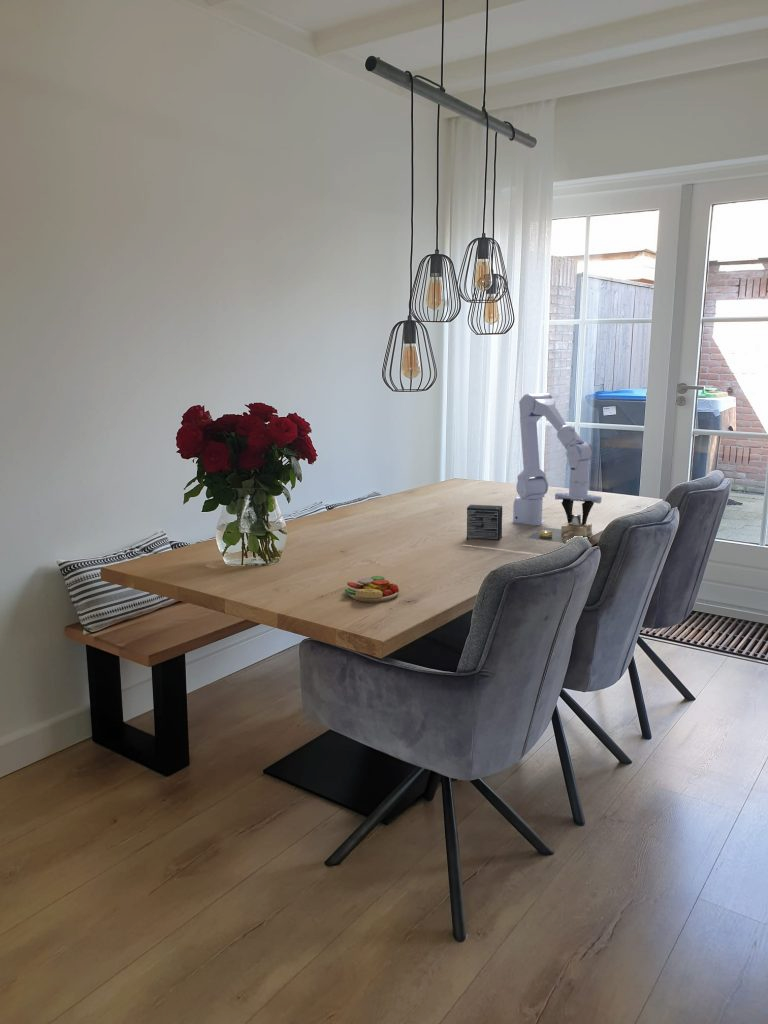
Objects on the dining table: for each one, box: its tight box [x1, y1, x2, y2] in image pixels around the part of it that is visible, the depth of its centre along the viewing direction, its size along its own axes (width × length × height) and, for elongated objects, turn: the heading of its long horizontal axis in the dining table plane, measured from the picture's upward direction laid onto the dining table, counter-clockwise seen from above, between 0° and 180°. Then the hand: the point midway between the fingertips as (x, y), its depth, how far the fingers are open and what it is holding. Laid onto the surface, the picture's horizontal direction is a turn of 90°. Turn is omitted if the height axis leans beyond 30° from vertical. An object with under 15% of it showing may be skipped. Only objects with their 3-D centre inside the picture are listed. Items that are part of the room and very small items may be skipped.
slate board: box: [526, 527, 574, 543], centre depth 261 cm, size 15×17×1 cm
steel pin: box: [571, 513, 582, 526], centre depth 262 cm, size 3×3×6 cm
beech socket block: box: [560, 521, 593, 537], centre depth 263 cm, size 8×8×3 cm
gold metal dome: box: [538, 530, 552, 539], centre depth 258 cm, size 4×4×2 cm
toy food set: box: [344, 575, 400, 603], centre depth 201 cm, size 13×13×3 cm
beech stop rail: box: [562, 531, 573, 543], centre depth 254 cm, size 1×6×2 cm, turn 150°
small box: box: [466, 504, 503, 541], centre depth 258 cm, size 11×6×10 cm, turn 74°
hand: (576, 523), depth 262 cm, fingers open, 4 cm apart
